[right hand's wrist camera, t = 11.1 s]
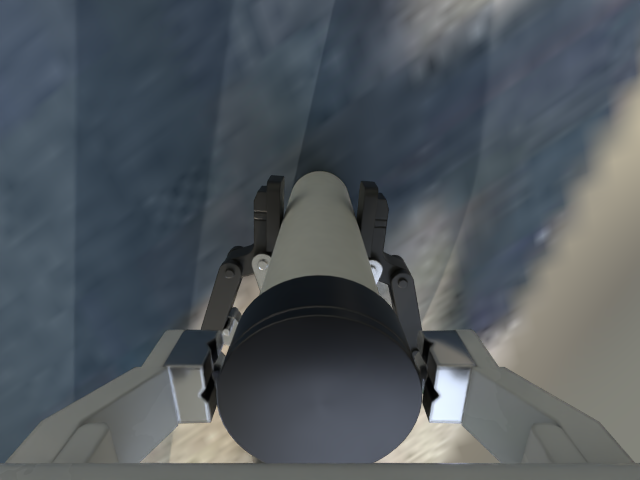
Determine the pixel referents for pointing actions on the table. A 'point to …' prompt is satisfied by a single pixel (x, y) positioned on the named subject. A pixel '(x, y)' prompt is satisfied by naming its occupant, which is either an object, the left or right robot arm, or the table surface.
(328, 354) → the lid
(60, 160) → the table surface
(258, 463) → the right robot arm
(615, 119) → the table surface
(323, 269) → the grey cylinder
